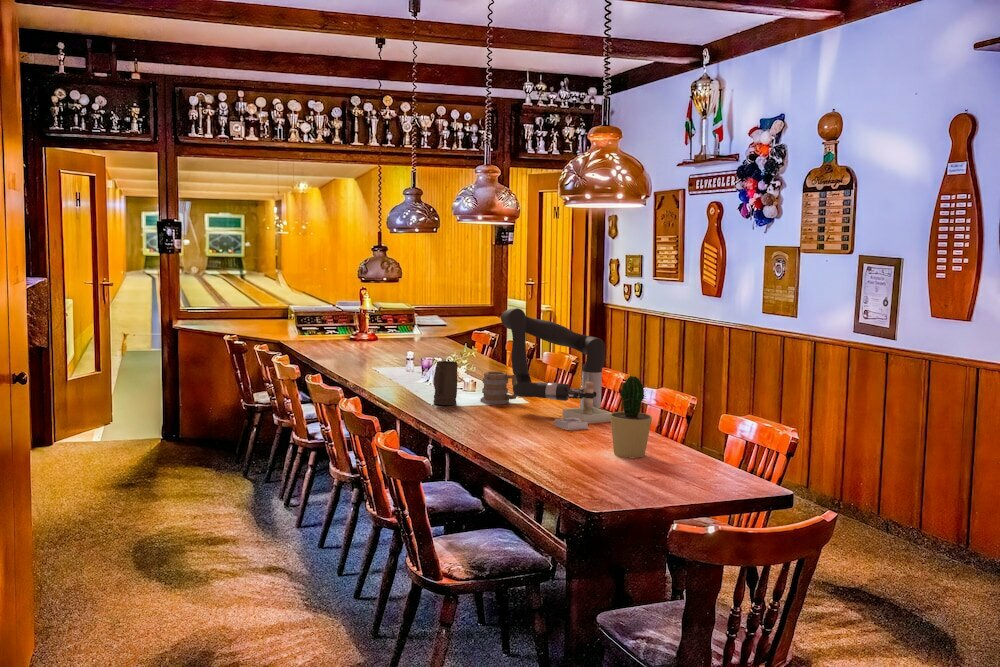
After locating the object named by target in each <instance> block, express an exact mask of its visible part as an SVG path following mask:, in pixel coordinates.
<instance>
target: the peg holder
mask: <svg viewBox="0 0 1000 667" xmlns="http://www.w3.org/2000/svg"><path fill="white" fill-rule="evenodd" d="M588 424H589V423H588V422H587V421H584V420H581V419H578V418H575V417H572V418H564V417H562V418H554V427H556V428H558V429H563V430H564V429H565V430H564V431H567V430H569V431H577V430H578V431H579V429H580V430H587V429H588V427H589V426H588Z"/></svg>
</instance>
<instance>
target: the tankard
mask: <svg viewBox="0 0 1000 667" xmlns="http://www.w3.org/2000/svg"><path fill="white" fill-rule="evenodd" d="M509 379H511V385H512V386H513V385H514V384H515V383H516V382H517V379H516V375H514V374H508V373H507V372H504V371H496V370H495V371H492V370H491V371H485V372H484V374H483V378H482V383H483V387H482V389H481V390H482V392H481V393H482V394H483V397H481V398H480V402H481V403H483V404H487V405H506V404H508V403H509V402H510V400H516V399H517V397H518V396H517V395H515V394H514V393H513V394H508V393H509V392H508V391H509V388H507V387H508V385H507V384H509Z"/></svg>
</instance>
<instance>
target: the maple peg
mask: <svg viewBox="0 0 1000 667" xmlns="http://www.w3.org/2000/svg"><path fill="white" fill-rule="evenodd" d="M593 390H594V382H585V387H584V392H585V393H593ZM592 410H593V399H591V398H584V407H583V414H585V415H592Z"/></svg>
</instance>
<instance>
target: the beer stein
mask: <svg viewBox="0 0 1000 667" xmlns="http://www.w3.org/2000/svg"><path fill="white" fill-rule="evenodd" d="M458 365H459V364H458V362H457V361H450V360H438V361H436V364H435V369H434V375H433V387H434V395H433V400H432V401H433V405H434V404H435V405H439V406H440V405H442V406H455V405H457V397H458V396H457V395H458V393H457V392H458V367H459V366H458Z"/></svg>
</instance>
